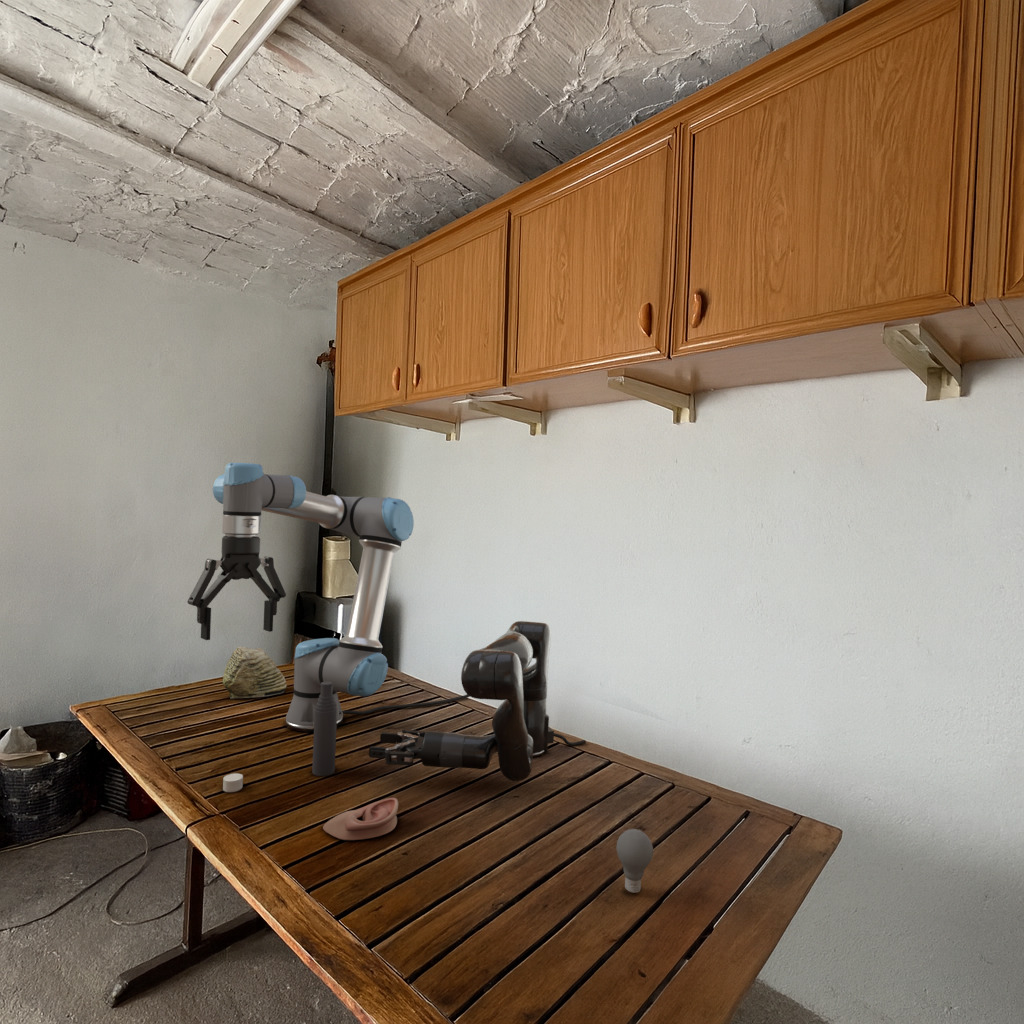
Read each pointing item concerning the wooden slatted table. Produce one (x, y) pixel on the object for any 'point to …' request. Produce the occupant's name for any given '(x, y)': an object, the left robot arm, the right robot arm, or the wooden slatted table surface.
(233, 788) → the cap
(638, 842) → the light bulb
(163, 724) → the wooden slatted table surface
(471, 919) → the wooden slatted table surface
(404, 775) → the wooden slatted table surface
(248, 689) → the fossil
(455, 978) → the wooden slatted table surface
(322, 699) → the bottle
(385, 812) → the anatomical model
